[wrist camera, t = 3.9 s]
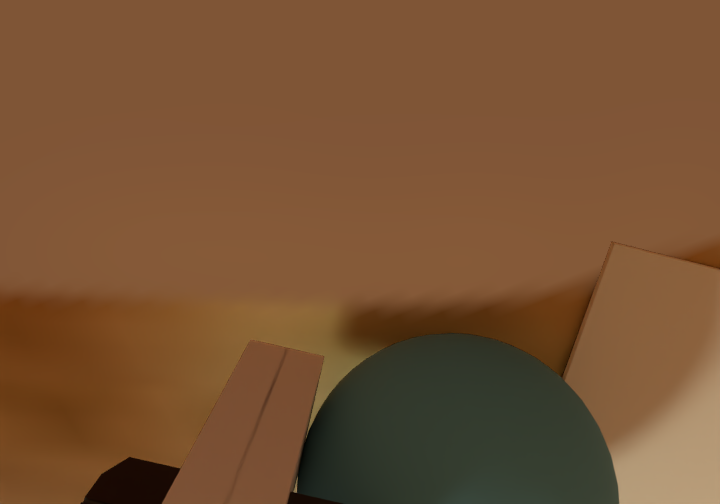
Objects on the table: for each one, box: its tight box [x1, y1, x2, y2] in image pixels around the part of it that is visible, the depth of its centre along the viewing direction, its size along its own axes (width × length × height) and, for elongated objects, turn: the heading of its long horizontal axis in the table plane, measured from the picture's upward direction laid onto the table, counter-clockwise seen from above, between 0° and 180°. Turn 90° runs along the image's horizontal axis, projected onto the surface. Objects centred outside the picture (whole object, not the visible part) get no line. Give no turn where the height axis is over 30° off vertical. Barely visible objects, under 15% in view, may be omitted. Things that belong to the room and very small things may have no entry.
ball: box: [297, 333, 619, 504], centre depth 13 cm, size 6×6×6 cm
